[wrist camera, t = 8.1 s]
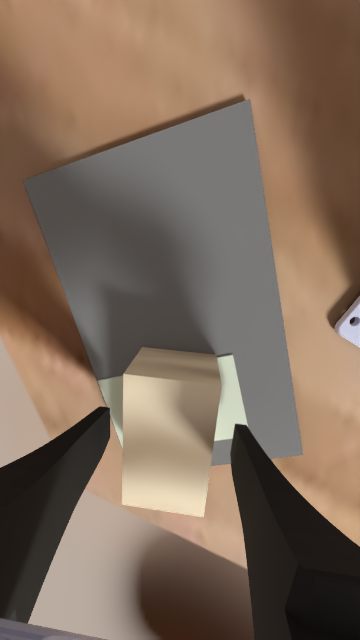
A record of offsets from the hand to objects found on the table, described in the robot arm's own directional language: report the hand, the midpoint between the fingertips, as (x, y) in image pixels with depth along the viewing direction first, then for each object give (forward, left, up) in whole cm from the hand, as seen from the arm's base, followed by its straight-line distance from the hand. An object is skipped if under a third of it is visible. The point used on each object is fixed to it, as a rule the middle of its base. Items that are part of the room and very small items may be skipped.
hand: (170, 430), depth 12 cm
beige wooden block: (0, 0, -2) cm, 2 cm away
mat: (-5, -2, -2) cm, 6 cm away
